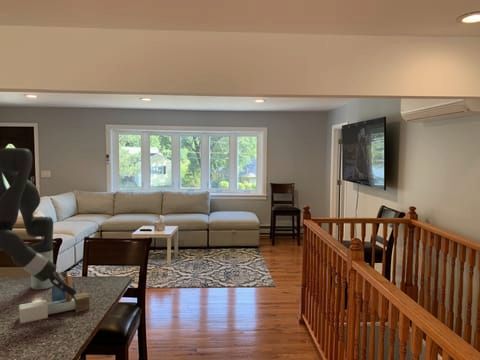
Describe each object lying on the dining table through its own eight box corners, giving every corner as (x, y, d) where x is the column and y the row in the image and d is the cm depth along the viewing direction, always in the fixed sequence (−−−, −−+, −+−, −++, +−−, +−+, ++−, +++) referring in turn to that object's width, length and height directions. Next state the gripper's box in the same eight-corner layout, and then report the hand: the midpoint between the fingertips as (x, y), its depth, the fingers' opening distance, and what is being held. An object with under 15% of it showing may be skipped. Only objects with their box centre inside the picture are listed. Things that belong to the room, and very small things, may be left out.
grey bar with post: (37, 313, 140) (36, 279, 140) (82, 304, 149) (81, 272, 148) (38, 316, 137) (37, 281, 137) (83, 307, 146) (83, 274, 145)
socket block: (73, 307, 148) (73, 295, 148) (86, 304, 151) (86, 292, 151) (76, 311, 144) (75, 299, 144) (89, 309, 147) (89, 296, 146)
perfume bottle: (74, 298, 157) (74, 271, 157) (63, 304, 152) (63, 276, 151) (63, 297, 159) (63, 270, 159) (52, 302, 154) (51, 274, 153)
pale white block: (19, 318, 138) (19, 304, 137) (46, 312, 143) (46, 300, 142) (20, 323, 133) (19, 309, 133) (47, 317, 138) (47, 304, 138)
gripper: (49, 263, 134) (83, 288, 141) (45, 254, 146) (76, 278, 152) (33, 280, 131) (68, 304, 138) (30, 270, 143) (63, 292, 150)
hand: (72, 290), depth 145 cm, fingers open, 8 cm apart
